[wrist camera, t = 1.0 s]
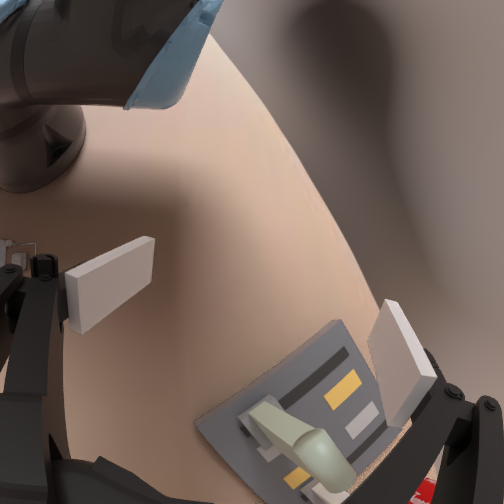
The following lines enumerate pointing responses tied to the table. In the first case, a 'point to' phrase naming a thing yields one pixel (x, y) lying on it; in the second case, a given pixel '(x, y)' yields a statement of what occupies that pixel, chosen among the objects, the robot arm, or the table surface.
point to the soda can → (424, 492)
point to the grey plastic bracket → (16, 257)
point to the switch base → (305, 414)
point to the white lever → (322, 494)
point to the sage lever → (299, 444)
